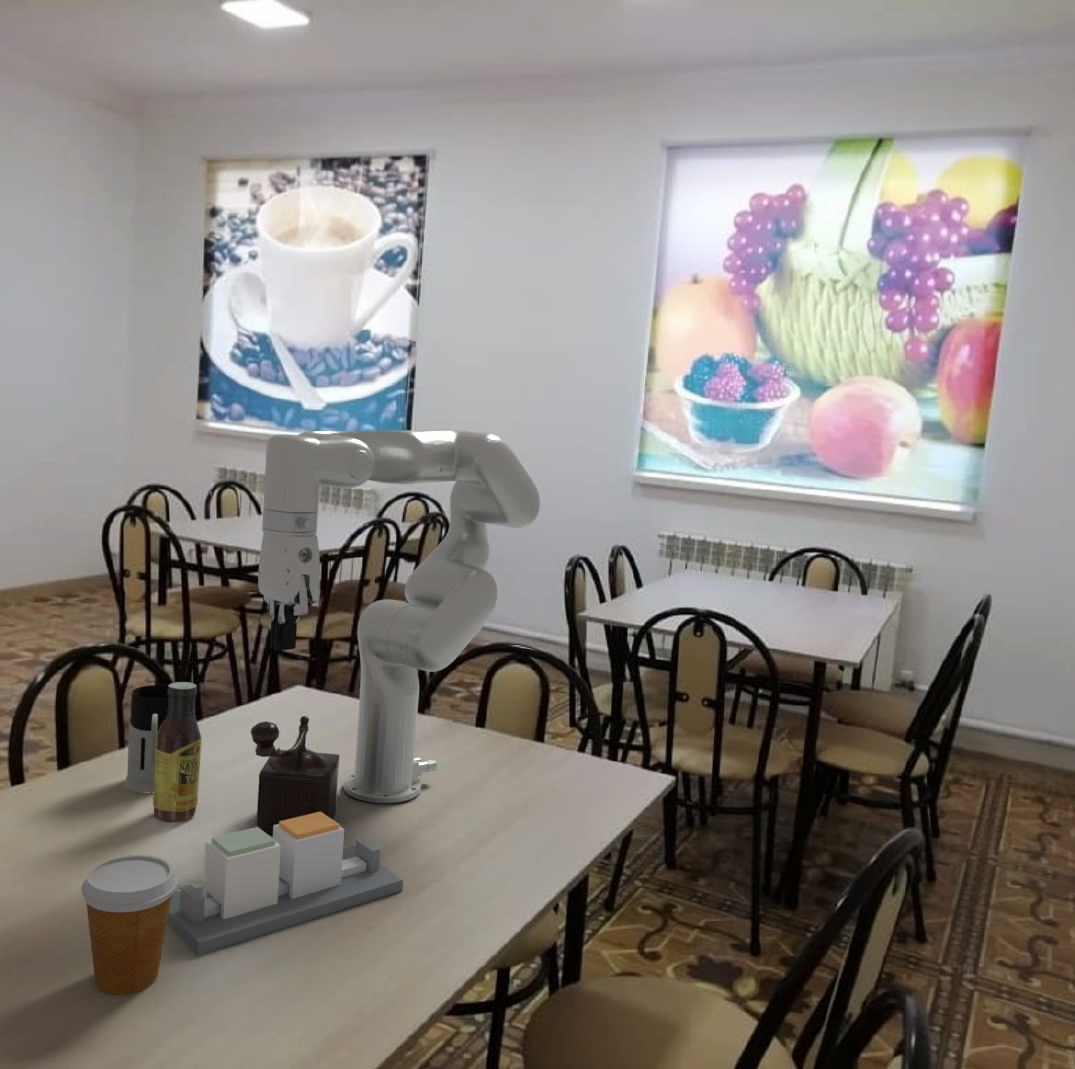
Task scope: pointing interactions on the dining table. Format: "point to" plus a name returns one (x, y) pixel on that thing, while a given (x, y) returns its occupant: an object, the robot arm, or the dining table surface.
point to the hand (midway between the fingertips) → (282, 648)
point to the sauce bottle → (178, 757)
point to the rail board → (283, 910)
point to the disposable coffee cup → (128, 919)
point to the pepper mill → (293, 778)
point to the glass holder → (145, 735)
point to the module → (309, 853)
